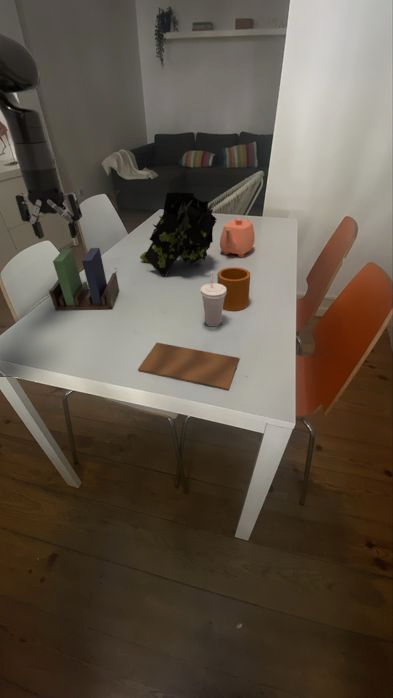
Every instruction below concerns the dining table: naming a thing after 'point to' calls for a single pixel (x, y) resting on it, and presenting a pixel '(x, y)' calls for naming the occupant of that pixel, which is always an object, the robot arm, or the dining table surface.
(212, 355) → the brown wooden board
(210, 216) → the potted plant
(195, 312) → the dining table surface
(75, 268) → the green book
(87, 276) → the navy book
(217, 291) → the smoothie
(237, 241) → the teapot
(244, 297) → the mug
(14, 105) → the robot arm
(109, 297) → the book rack
